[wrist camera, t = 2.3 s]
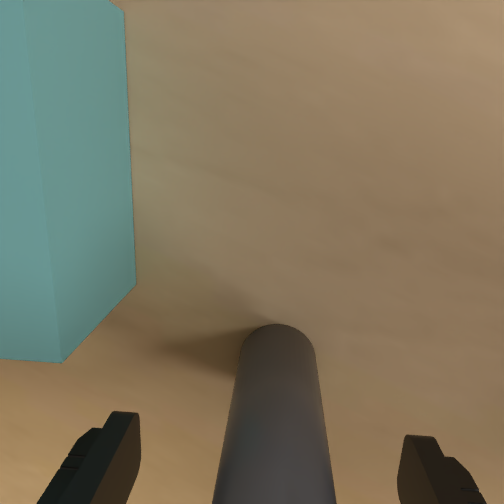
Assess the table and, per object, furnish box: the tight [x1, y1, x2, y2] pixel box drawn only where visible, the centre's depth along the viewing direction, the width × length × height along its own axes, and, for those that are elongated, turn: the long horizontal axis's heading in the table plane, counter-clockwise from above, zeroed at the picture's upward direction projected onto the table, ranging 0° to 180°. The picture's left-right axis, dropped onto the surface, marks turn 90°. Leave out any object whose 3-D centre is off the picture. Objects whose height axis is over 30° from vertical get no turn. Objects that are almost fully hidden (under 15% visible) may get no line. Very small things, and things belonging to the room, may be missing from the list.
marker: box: [212, 324, 337, 504], centre depth 12 cm, size 3×3×12 cm
